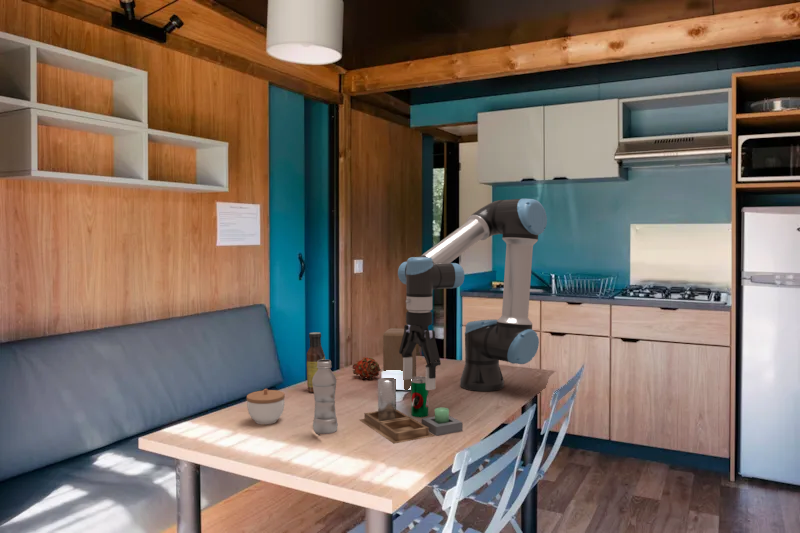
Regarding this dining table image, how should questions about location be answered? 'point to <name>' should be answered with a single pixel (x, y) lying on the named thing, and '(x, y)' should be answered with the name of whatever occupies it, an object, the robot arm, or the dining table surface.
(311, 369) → the sauce bottle
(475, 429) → the dining table surface
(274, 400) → the lidded jar
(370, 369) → the reddish brown bumpy oval
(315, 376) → the plastic bottle
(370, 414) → the tray
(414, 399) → the soda can
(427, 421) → the grey square holder
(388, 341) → the block
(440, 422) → the button
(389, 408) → the seated cylinder
